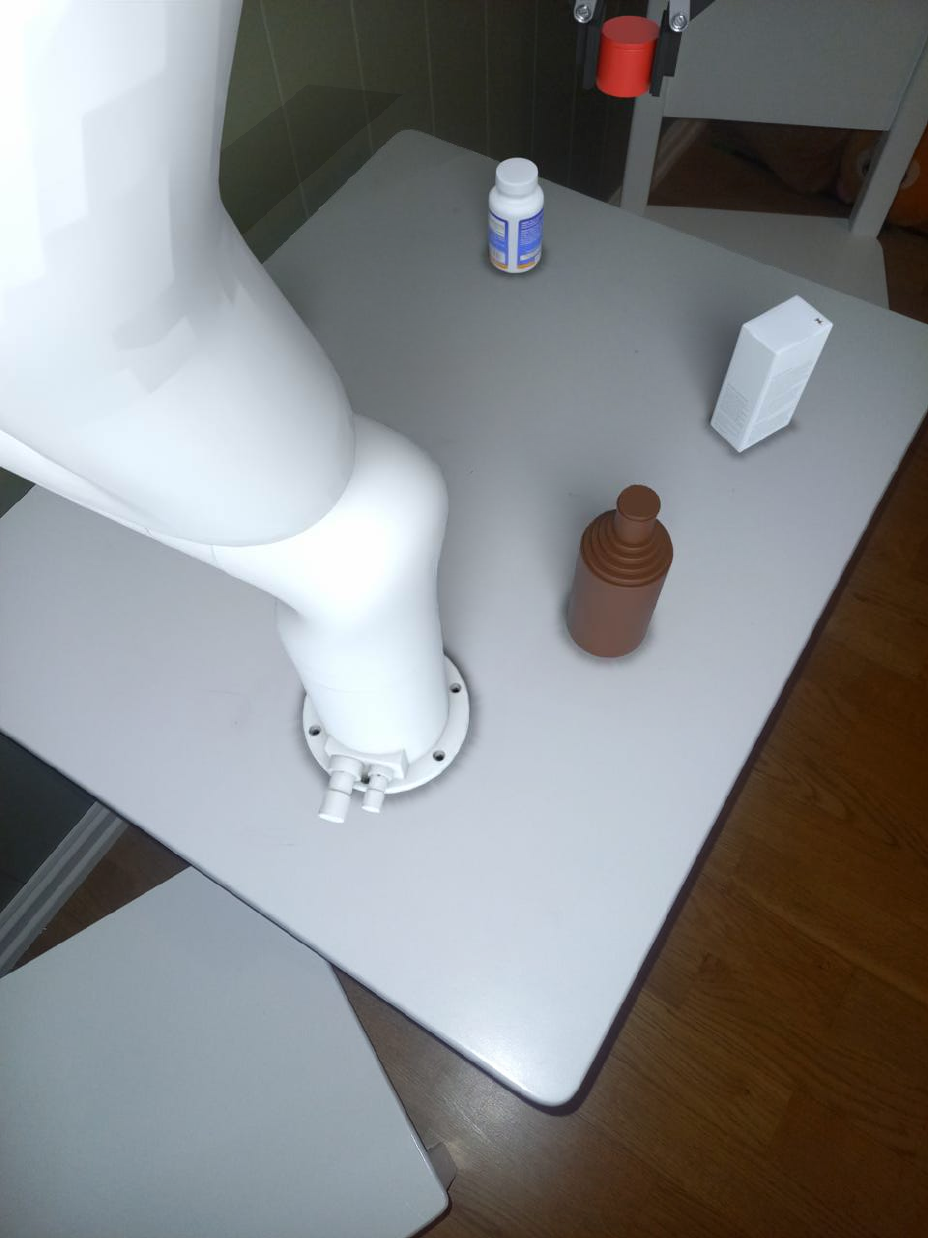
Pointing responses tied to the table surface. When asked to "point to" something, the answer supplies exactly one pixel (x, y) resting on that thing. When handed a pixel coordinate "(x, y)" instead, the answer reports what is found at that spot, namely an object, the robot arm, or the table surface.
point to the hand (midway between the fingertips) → (623, 78)
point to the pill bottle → (516, 216)
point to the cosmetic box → (769, 372)
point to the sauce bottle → (619, 575)
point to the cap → (627, 56)
